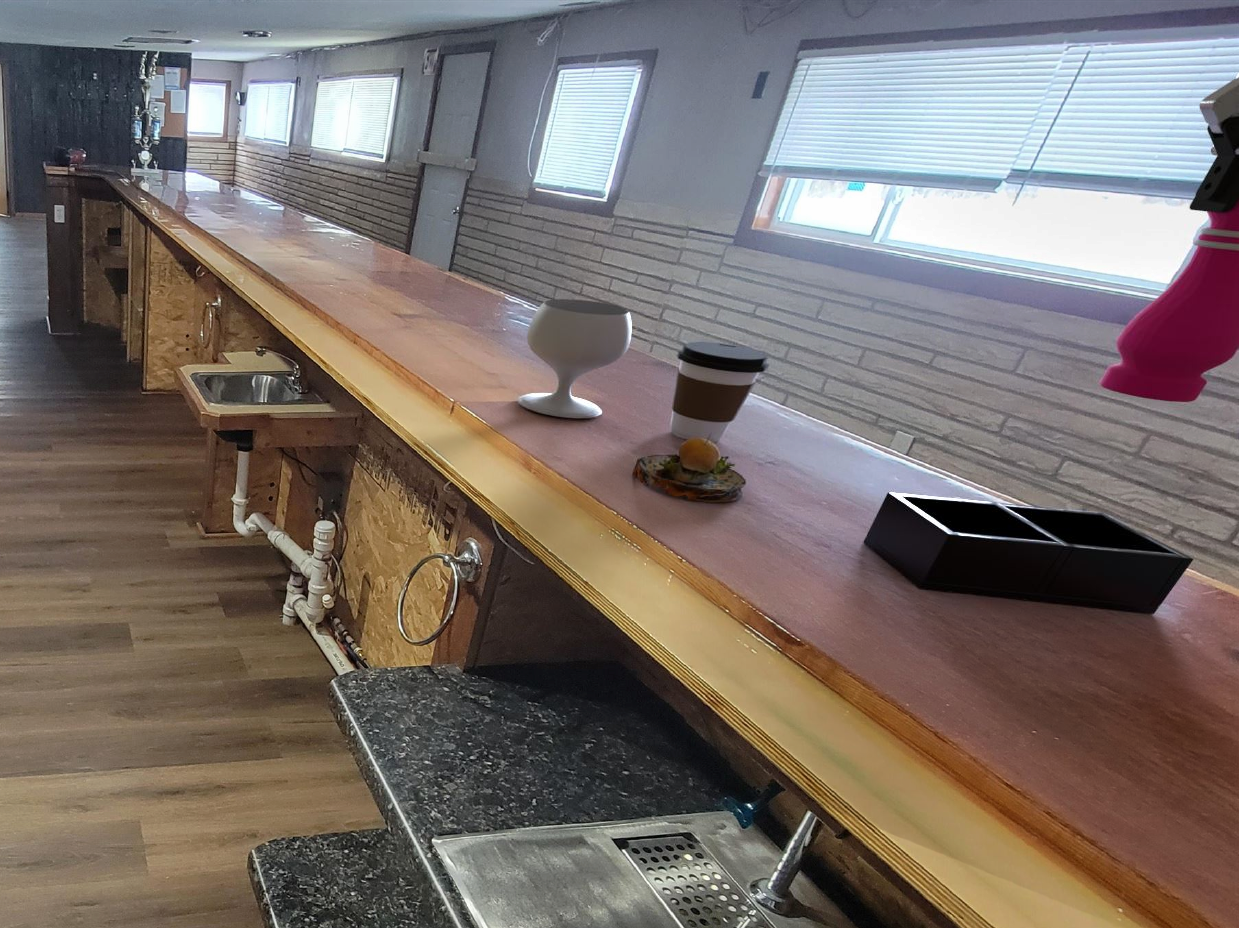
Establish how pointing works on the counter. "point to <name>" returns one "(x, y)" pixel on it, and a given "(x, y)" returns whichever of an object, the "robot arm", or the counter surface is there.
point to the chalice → (575, 349)
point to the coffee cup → (712, 387)
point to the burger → (692, 472)
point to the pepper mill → (1185, 323)
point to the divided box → (1024, 553)
